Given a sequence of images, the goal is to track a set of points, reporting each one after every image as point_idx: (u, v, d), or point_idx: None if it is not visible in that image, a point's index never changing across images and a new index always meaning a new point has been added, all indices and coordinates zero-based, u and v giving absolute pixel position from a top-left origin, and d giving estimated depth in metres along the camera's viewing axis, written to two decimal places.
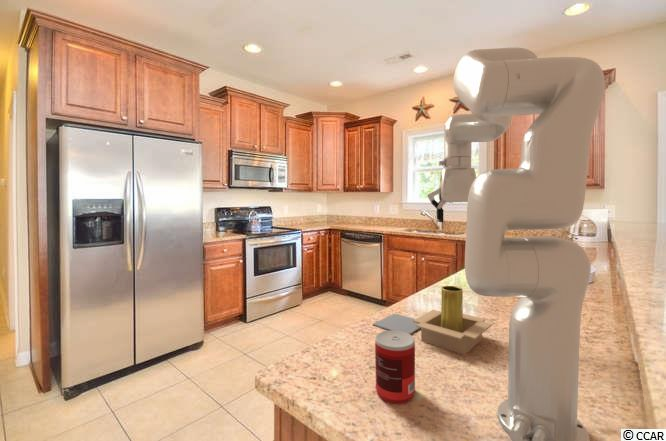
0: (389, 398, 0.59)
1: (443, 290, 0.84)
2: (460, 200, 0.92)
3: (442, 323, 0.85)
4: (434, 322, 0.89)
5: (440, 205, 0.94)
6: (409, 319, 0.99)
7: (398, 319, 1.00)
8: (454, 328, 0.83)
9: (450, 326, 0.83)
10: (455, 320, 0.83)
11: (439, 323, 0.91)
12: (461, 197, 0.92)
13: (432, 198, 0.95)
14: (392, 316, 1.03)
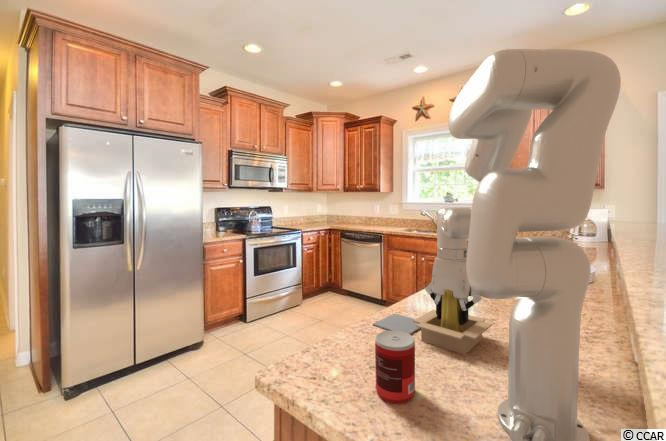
0: (389, 398, 0.59)
1: None
2: None
3: (442, 323, 0.85)
4: (434, 322, 0.89)
5: None
6: (409, 319, 0.99)
7: (398, 319, 1.00)
8: (454, 328, 0.83)
9: (450, 326, 0.83)
10: (455, 320, 0.83)
11: (439, 323, 0.91)
12: None
13: None
14: (392, 316, 1.03)
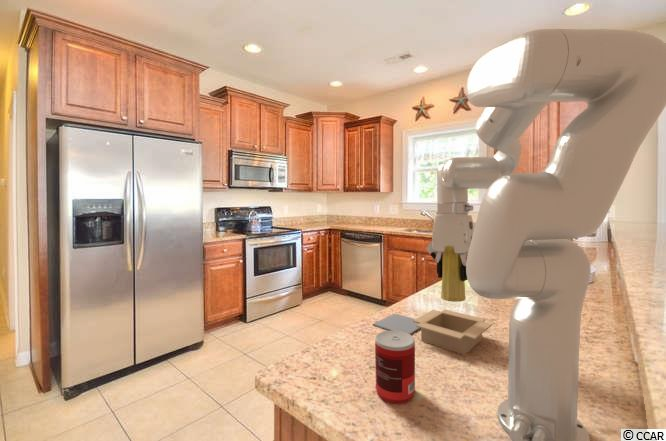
0: (389, 398, 0.59)
1: None
2: None
3: (443, 281, 0.83)
4: (434, 322, 0.89)
5: None
6: (409, 319, 0.99)
7: (398, 319, 1.00)
8: (455, 284, 0.81)
9: (452, 282, 0.82)
10: (456, 276, 0.81)
11: (439, 323, 0.91)
12: None
13: None
14: (392, 316, 1.03)
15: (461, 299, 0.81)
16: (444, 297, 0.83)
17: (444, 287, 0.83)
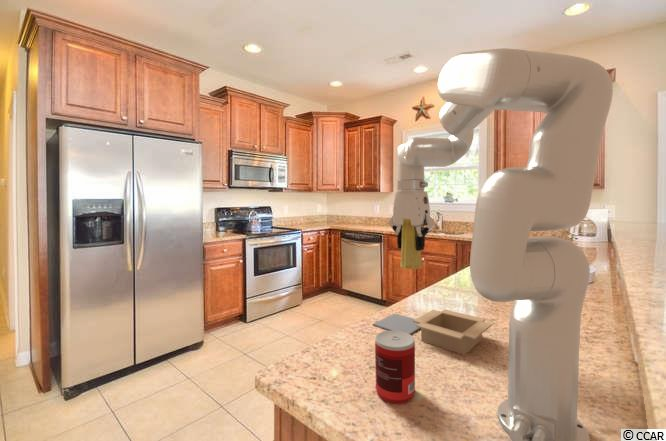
0: (389, 398, 0.59)
1: None
2: None
3: (402, 250, 0.93)
4: (434, 322, 0.89)
5: None
6: (409, 319, 0.99)
7: (398, 319, 1.00)
8: (412, 253, 0.90)
9: (408, 252, 0.91)
10: (412, 246, 0.90)
11: (439, 323, 0.91)
12: None
13: None
14: (392, 316, 1.03)
15: (417, 267, 0.91)
16: (402, 265, 0.92)
17: (402, 256, 0.92)
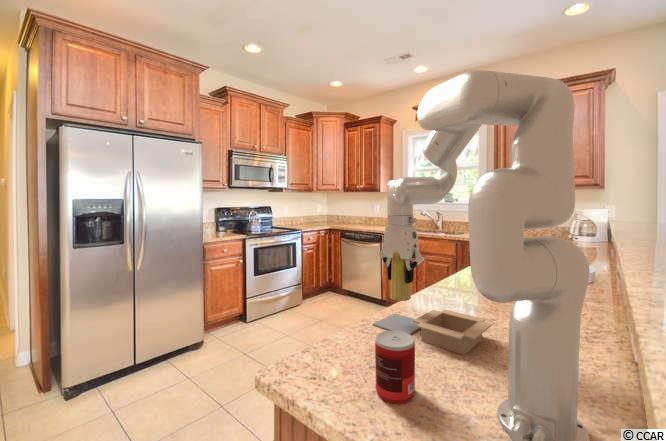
0: (389, 398, 0.59)
1: None
2: None
3: (391, 282, 0.96)
4: (434, 322, 0.89)
5: None
6: (409, 319, 0.99)
7: (398, 319, 1.00)
8: (401, 286, 0.94)
9: (398, 284, 0.94)
10: (402, 279, 0.93)
11: (439, 323, 0.91)
12: None
13: None
14: (392, 316, 1.03)
15: (406, 299, 0.94)
16: (392, 297, 0.95)
17: (392, 288, 0.95)
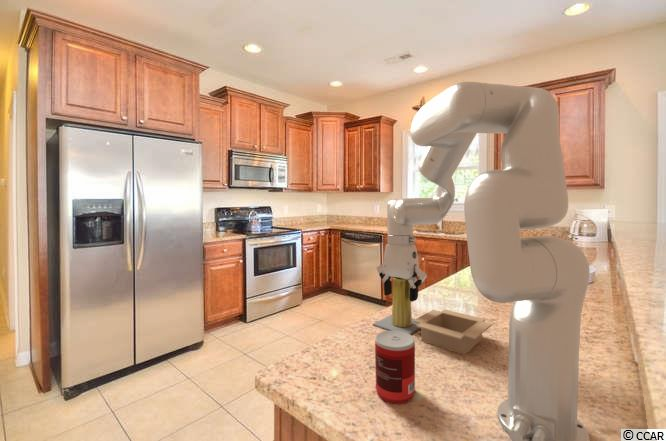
0: (389, 398, 0.59)
1: (393, 279, 0.95)
2: None
3: (393, 308, 0.95)
4: (434, 322, 0.89)
5: None
6: None
7: None
8: (402, 312, 0.93)
9: (399, 310, 0.94)
10: (403, 305, 0.93)
11: (439, 323, 0.91)
12: None
13: None
14: None
15: (407, 325, 0.94)
16: (393, 323, 0.95)
17: (393, 314, 0.95)
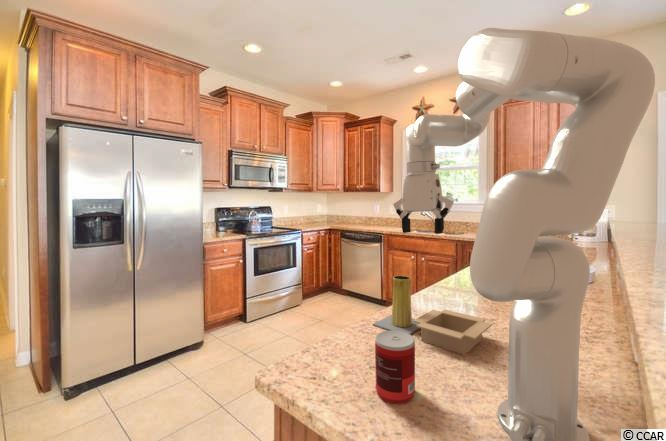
0: (389, 398, 0.59)
1: (393, 279, 0.95)
2: None
3: (393, 308, 0.96)
4: (434, 322, 0.89)
5: None
6: None
7: None
8: (402, 312, 0.93)
9: (399, 310, 0.94)
10: (403, 305, 0.93)
11: (439, 323, 0.91)
12: None
13: None
14: None
15: (407, 325, 0.94)
16: (393, 323, 0.95)
17: (393, 314, 0.95)
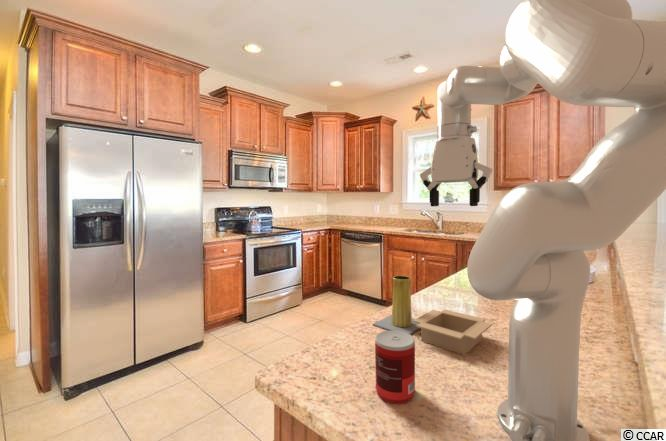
0: (389, 398, 0.59)
1: (393, 279, 0.95)
2: None
3: (393, 308, 0.96)
4: (434, 322, 0.89)
5: None
6: None
7: None
8: (402, 312, 0.93)
9: (399, 310, 0.94)
10: (403, 305, 0.93)
11: (439, 323, 0.91)
12: None
13: None
14: None
15: (407, 325, 0.94)
16: (393, 323, 0.95)
17: (393, 314, 0.95)
